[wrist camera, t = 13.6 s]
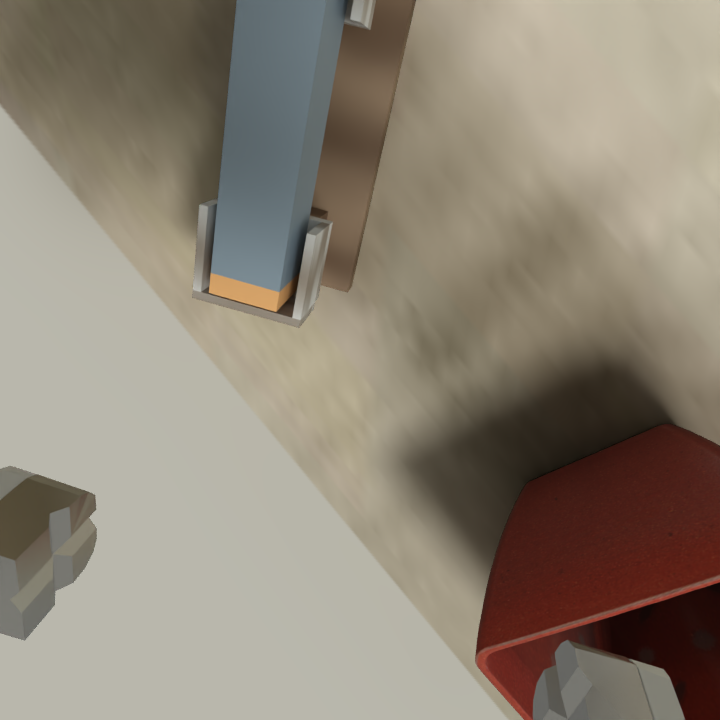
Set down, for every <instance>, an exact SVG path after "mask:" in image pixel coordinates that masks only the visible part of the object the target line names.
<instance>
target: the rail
mask: <svg viewBox="0 0 720 720" xmlns="http://www.w3.org/2000/svg"><path fill="white" fill-rule="evenodd" d="M347 3H348V0H237V3H236V13H235V24H234V34H233V45H232V55H231V66H230V76H229V87H228V97H227V108H226V118H225V129H224V139H223V150H222V160H221V171H220V181H219V192H218V202H217V213H216V223H215V234H214V244H213V255H212V265H211V276H210V286H209V293H211V294H215V295H218V296H222V297H225V298H229V299H232V300H236V301H239V302H243V303H246V304H250V305H253V306H257V307H260V308H264V309H267V310H271V311H274V312H277V310H278V309H279V308H280V307H281V306H282V305H283V304H284V303H285V302H286V301H287V300H288V299H289V298H290V297H291V296H292V295H293V294H294V293H295V291H296V290H297V286H298V280H299V274H300V269H301V263H302V257H303V252H304V246H305V240H306V235H307V229H308V223H309V218H310V212H311V207H312V201H313V195H314V190H315V184H316V178H317V173H318V167H319V161H320V156H321V150H322V144H323V139H324V133H325V127H326V122H327V116H328V110H329V105H330V99H331V94H332V88H333V82H334V77H335V71H336V65H337V60H338V54H339V48H340V43H341V37H342V31H343V26H344V20H345V14H346V9H347Z"/></svg>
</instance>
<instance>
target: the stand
mask: <svg viewBox="0 0 720 720" xmlns="http://www.w3.org/2000/svg"><path fill="white" fill-rule="evenodd" d="M415 1H416V0H348V3H347V9H346V14H345V20H344V26H343V31H342V37H341V43H340V48H339V54H338V60H337V65H336V71H335V77H334V82H333V88H332V94H331V99H330V105H329V110H328V116H327V122H326V127H325V133H324V139H323V144H322V150H321V156H320V161H319V167H318V173H317V178H316V184H315V190H314V195H313V201H312V207H311V212H310V218H309V223H308V229H307V235H306V240H305V246H304V252H303V257H302V263H301V269H300V274H299V280H298V286H297V290H296V291H295V293H294V294H293V295H292V296H291V297H290V298H289V299H288V300H287V301H286V302H285V303H284V304H283V305H282V306H281V307H280V308H279V309H278V310H277V312H274V311H271V310H267V309H264V308H260V307H257V306H253V305H250V304H246V303H243V302H239V301H236V300H232V299H229V298H225V297H222V296H218V295H215V294H211V293H209V286H210V276H211V265H212V255H213V244H214V234H215V223H216V213H217V202H218V198H216V199H213V200H210V201H207V202H204V203H202V204H199V216H198V229H197V242H196V255H195V268H194V281H193V294H192V298H195V299H199V300H202V301H206V302H209V303H213V304H216V305H220V306H223V307H227V308H230V309H234V310H237V311H241V312H244V313H248V314H252V315H255V316H259V317H262V318H266V319H269V320H273V321H276V322H280V323H283V324H287V325H290V326H294V327H298V328H299V327H300V326H301V325H302V324H303V322H304V321H305V320H306V318H307V317H308V316H309V315H310V313H311V312H312V311H313V309H314V304H315V301H316V300H317V299H318V296H319V291H320V286H321V285H323V286H326V287H330V288H334V289H337V290H341V291H345V292H348V291H349V290H350V288H351V287H352V283H353V278H354V274H355V269H356V265H357V260H358V256H359V252H360V247H361V243H362V238H363V234H364V229H365V225H366V220H367V216H368V211H369V207H370V202H371V198H372V193H373V189H374V185H375V180H376V176H377V171H378V167H379V162H380V158H381V153H382V149H383V144H384V140H385V135H386V131H387V126H388V122H389V118H390V113H391V109H392V104H393V100H394V95H395V91H396V86H397V82H398V77H399V73H400V68H401V64H402V59H403V55H404V51H405V46H406V42H407V37H408V33H409V28H410V24H411V19H412V15H413V10H414V6H415Z"/></svg>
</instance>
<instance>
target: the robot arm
mask: <svg viewBox="0 0 720 720" xmlns="http://www.w3.org/2000/svg"><path fill="white" fill-rule="evenodd" d="M95 510H96V500H95V495H94V494H92V493H90V492H87V491H85V490H81V489H79V488H76V487H72V486H70V485H67V484H64V483H61V482H58V481H55V480H52V479H49V478H46V477H44V476H41V475H37V474H34V473H31V472H28V471H24V470H22V469H19V468H16V467H12V466H8V467H5V468H2V469H0V633H2V634H5V635H8V636H11V637H15V638H18V639H21V640H26V638H27V637H28V636H29V635H30V634H31V632H32V631H33V630H34V629H35V628H36V627H37V625H38V624H39V623H40V622H41V621H42V619H43V618H44V617H45V616H46V615H47V613H48V612H49V611H50V610H51V609H52V607H53V606H54V605H55V591H56V590H58V589H61V588H63V587H65V586H67V585H69V584H71V583H73V582H74V581H75V580H76V578H77V577H78V576H79V575H80V573H81V572H82V571H83V570H84V568H85V567H86V565H87V563H88V561H89V559H90V557H91V555H92V553H93V551H94V547H95V543H96V539H97V538H96V537H97V534H96V533H97V532H96V531H97V529H96V527H95V525H94V524H93V523H92V521H91V520H90V518H89V517H90V515H91V514H92V513H93V512H94V511H95ZM555 659H556V665H555V666H553V667H550V668H547V669H545V670H544V671H543V673H542V675H541V676H540V678H539V680H538V682H537V685H536V689H535V694H534V699H533V720H685V718H684V715H683V712H682V709H681V707H680V704H679V701H678V698H677V696H676V693H675V690H674V688H673V685H672V682H671V679H670V677H669V676H668V674H667V673H666V672H665V671H664V669H661V668H658V667H655V666H652V665H648V664H645V663H642V662H639V661H635V660H632V659H628V658H626V657H624V656H620V655H617V654H614V653H610V652H607V651H604V650H600V649H597V648H593V647H590V646H587V645H583V644H580V643H577V642H573V641H570V640H566V641H564V642H562V643H561V644H560V645H559V647H558V648H557V650H556V652H555Z"/></svg>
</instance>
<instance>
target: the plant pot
mask: <svg viewBox="0 0 720 720" xmlns="http://www.w3.org/2000/svg"><path fill="white" fill-rule="evenodd" d="M566 640H570V641H573V642H577V643H580V644H583V645H587V646H590V647H593V648H597V649H600V650H604V651H607V652H610V653H614V654H617V655H620V656H624V657H626V658H628V659H632V660H635V661H639V662H642V663H645V664H648V665H652V666H655V667H658V668H661V669H664V671H665V672H666V673H667V674H668V676H669V677H670V679H671V682H672V685H673V688H674V690H675V693H676V696H677V698H678V701H679V704H680V707H681V709H682V712H683V715H684V718H685V720H720V446H719V445H717V444H716V443H714V442H712V441H710V440H708V439H706V438H704V437H702V436H699V435H697V434H695V433H693V432H691V431H689V430H686V429H684V428H681V427H678V426H675V425H673V424H663V425H660V426H657V427H654V428H652V429H650V430H648V431H646V432H643V433H641V434H639V435H636V436H634V437H632V438H629V439H627V440H625V441H622V442H620V443H618V444H615V445H613V446H611V447H609V448H606V449H604V450H602V451H599V452H597V453H595V454H592V455H590V456H588V457H585V458H583V459H581V460H578V461H576V462H574V463H571V464H569V465H567V466H564V467H562V468H560V469H558V470H555V471H553V472H551V473H548V474H546V475H544V476H541V477H539V478H537V479H534V480H532V481H530V482H528V483H527V484H526V485H525V486H524V488H523V489H522V491H521V493H520V495H519V497H518V499H517V501H516V503H515V505H514V507H513V509H512V511H511V513H510V516H509V518H508V521H507V523H506V526H505V528H504V531H503V533H502V536H501V539H500V542H499V545H498V548H497V551H496V554H495V558H494V561H493V565H492V568H491V572H490V576H489V580H488V584H487V589H486V593H485V598H484V603H483V609H482V614H481V620H480V625H479V631H478V638H477V647H476V657H475V662H476V665H477V666H478V668H479V669H480V670H481V672H482V673H483V674H484V675H485V676H486V677H487V679H488V680H489V681H490V682H491V683H492V684H493V685H494V686H495V687H496V689H497V690H498V691H499V692H500V693H501V694H502V695H503V696H504V698H505V699H506V700H507V701H508V702H509V703H510V704H511V705H512V707H513V708H514V709H515V710H516V711H517V712H518V713H519V714H520V716H521V717H522V718H523V719H524V720H533V699H534V694H535V689H536V685H537V682H538V680H539V678H540V676H541V675H542V673H543V671H544V670H545V669H547V668H550V667H553V666H555V665H556V659H555V652H556V650H557V648H558V647H559V645H560V644H561V643H562V642H564V641H566Z"/></svg>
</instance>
